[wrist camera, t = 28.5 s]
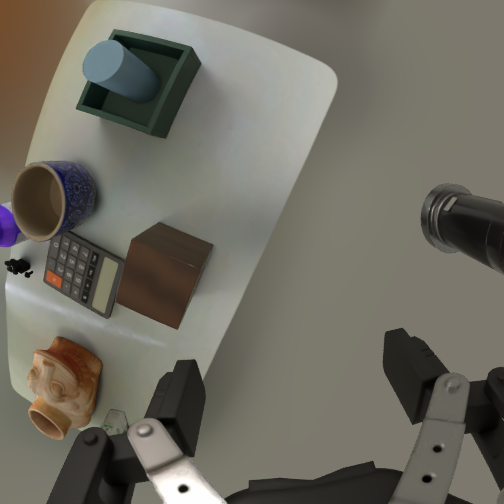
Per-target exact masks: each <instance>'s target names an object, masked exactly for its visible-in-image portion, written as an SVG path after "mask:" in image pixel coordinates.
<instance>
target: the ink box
mask: <svg viewBox="0 0 504 504" xmlns="http://www.w3.org/2000/svg"><path fill="white" fill-rule="evenodd" d="M101 428H102V429H104V430H105V431H106V433H107V434H108V436H111V435H117V434H123V433H127V432H128V429H129V428H128V425H127V421H126V417H125V414H124V412H120V411H116V410H112V409H111V410H110V412H109V413H108V415H107V417H106V419H105V421H104V423H103V424H102V426H101Z"/></svg>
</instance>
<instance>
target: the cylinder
mask: <svg viewBox="0 0 504 504" xmlns="http://www.w3.org/2000/svg"><path fill="white" fill-rule="evenodd" d="M83 74H84V76H85V77H86V78H87V79H88V80H89V81H91V82H93V83H96V84H98V85H100V86H102V87H105V88H107V89H109V90H111V91H113V92H116V93H118V94H120V95H122V96H124V97H126V98H128V99H131V100H133V101H135V102H137V103H146V102H149V101H151V100H152V99H154V98H155V97H156V96H157V94H158V93H159V91H160V87H161V81H160V78H159V76H158V75H157V74H156V73H155V72H154V71H152V70H151V69H150V68H149V67H148V66H147V65H145V64H144V63H143V62H142V61H141V60H139V59H138V58H137V57H136V56H135V55H133V54H132V53H131V52H130V51H129V50H127V49H126V48H125V47H124V46H122V45H121V44H120V43H119V42H117V41H115V40H104V41H101V42H99V43H98V44H96V45H95V46H93V47H92V48H91V49H90V50H89V52H88V53H87V55H86V56H85V59H84V61H83Z"/></svg>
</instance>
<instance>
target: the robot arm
mask: <svg viewBox="0 0 504 504" xmlns="http://www.w3.org/2000/svg"><path fill="white" fill-rule="evenodd" d="M434 229H435V233H436V235H437V237H438V239H439V240H440V241H441V242H442V243H443V244H445V245H447V246H449V247H452V248H454V249H456V250H458V251H460V252H462V253H464V254H466V255H468V256H469V257H471V258H473V259H476V260H477V261H479V262H481V263H483V264H485V265H487V266H489V267H490V268H492V269H494V270H496V271H498V272H499V273H501V274H503V275H504V204H503V203H502V202H500V201H496V200H492V199H488V198H483V197H479V196H474V195H470V194H468V195H466V194H463V193H459V192H452V193H449V194H447V195H446V196H444V197H443V198H442V199H441V201H440V202H439V204H438V205H437V208H436V210H435V214H434ZM383 368H384V372H385V374H386V376H387V378H388V380H389V382H390V384H391V385H392V387H393V389H394V391H395V392H396V395H397V397H398V398H399V400H400V402H401V404H402V406H403V408H404V410H405V412H406V414H407V416H408V417H409V419H410V421H411V423H412V425H414V424H417V423H419V422H422V426H421V429H420V432H419V435H418V438H417V440H416V443H415V446H414V448H413V451H412V453H411V455H410V458H409V460H408V463H407V465H406V468H405V470H404V472H401V471H398V470H394V469H386V468H375V465H374V462H373V461H370V462H366V463H363V464H358V465H354V466H350V467H345V468H342V469H340V470H337V471H335V472H333V473H330V474H327V475H325V476H322V477H320V478H317V479H314V480H302V479H288V478H273V479H262V480H249V488H248V489H244V490H241V491H238V492H236V493H234V494H232V495H230V496H228V497H226V498H225V499H223V498H222V497H221V495H220V494H219V493H218V492H217V491H216V490H215V489H214V488H213V486H212V485H211V484H210V483H209V482H208V481H207V480H206V478H205V477H204V476H203V475H202V473H201V472H200V471H199V470H198V468H197V467H196V466H195V465H194V463H193V462H192V461H191V460H190V458H189V457H194V455H195V450H196V445H197V440H198V435H199V430H200V425H201V420H202V415H203V410H204V404H205V398H206V395H205V387H204V384H203V381H202V378H201V374H200V371H199V368H198V365H197V362H196V360H195V359H193V360H178V361H177V362H176V365H175V367H174V370H173V372H167V373H166V374H165V375H164V376H163V377H162V378H161V379H160V380H159V382H158V385H157V387H156V390H155V392H154V396H153V397H152V399H151V402H150V404H149V407H148V409H147V412H146V414H145V417H144V419H141V420H138V421H136V422H135V423H133V424H132V425H131V426H130V428H129V429H128V432H127V433H123V434H117V435H111V436H108V434H107V433H106V431H105V430H104V429H102V428H99V427H91V428H87V429H85V430H83V431H82V432H81V433H80V434H79V435H78V436H77V438H76V440H75V442H74V444H73V446H72V448H71V450H70V453H69V454H68V456H67V458H66V461H65V463H64V465H63V467H62V469H61V471H60V474H59V476H58V478H57V480H56V482H55V485H54V487H53V489H52V492H51V494H50V496H49V499H48V501H47V503H46V504H131V500H132V496H133V492H134V487H135V483H139V482H146V481H150V482H151V484H152V485H153V487H154V489H155V490H156V492H157V494H158V495H159V497H160V498H161V500H162V501H163V503H164V504H472V503H470V502H467V501H465V500H463V499H460V498H458V497H455V496H453V495H451V494H449V493H448V491H449V488H450V485H451V482H452V479H453V476H454V472H455V469H456V465H457V461H458V458H459V453H460V450H461V445H462V441H463V436H464V434H468V433H471V434H472V436H473V438H474V440H475V442H476V444H477V445H478V447H479V449H480V451H481V453H482V455H483V457H484V459H485V460H486V463H487V464H488V466H489V468H490V470H491V472H492V474H493V476H494V478H495V481H496V483H497V485H498V487H499V489H500V491H501V492H500V493H499V495H498V498H497V504H504V421H503V419H504V367H497V368H495V369H492V370H491V371H490V372H489V374H488V377H487V380H481V381H473V382H469V381H468V379H467V378H466V377H465V376H463V375H461V374H458V373H450V372H449V371H448V370H447V368H446V367H445V366H444V365H443V363H442V362H441V361H440V360H439V359H438V357H437V356H436V355H434V352H433V351H432V350H431V349H430V348H429V346H428V345H427V344H426V343H425V342H424V341H422V340H421V339H419V338H417V337H415V336H414V337H410V336H409V335H408V334H407V332H406V331H405V330H404V329H403V328H399V329H395V330H391V331H387V332H386V333H385V337H384V353H383ZM502 418H503V419H502Z"/></svg>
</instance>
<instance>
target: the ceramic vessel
mask: <svg viewBox="0 0 504 504" xmlns="http://www.w3.org/2000/svg"><path fill="white" fill-rule="evenodd" d="M102 366H103V364H102V362H101V360H100V359H99V358H98V357H96V356H95V355H93V354H92V353H91V352H89V351H88V350H86V349H85V348H83V347H81V346H79V345H77V344H75V343H73V342H71V341H69V340H66V339H64V338H62V337H56V338H55V339H54V342H53V344H52V346H51V347H50V348H49V349H48V350H36V351H34V361H33V368H32V369H31V370H30V372H29V374H28V377H27V380H28V385H29V387H30V388H31V390H32V391H33V392H34V393H36V394H37V395H38V397H37V398H36V400H35V402H34V403H33V404H32V405H31V407H30V408H29V410H28V414H29V417H30V419H31V421H32V422H33V423H34V425H35V426H36V427H37V428H38V429H39V430H40V431H41V432H42V433H44V434H45V435H47V436H48V437H50V438H53V439H57V440H61V439H63V438H64V437H65V435H66V433H67V431H68V429H69V428H72V429H75V428H82V427H85V426H87V425H88V424H89V422H90V420H91V415H92V412H93V410H94V408H95V398H96V394H97V389H98V377H99V374H100V371H101V370H102Z"/></svg>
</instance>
